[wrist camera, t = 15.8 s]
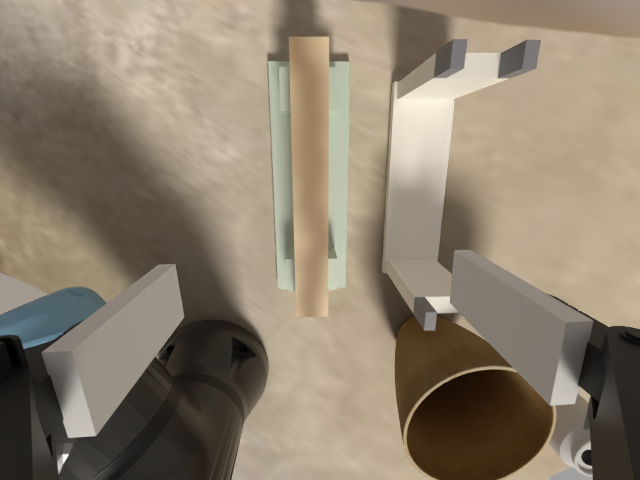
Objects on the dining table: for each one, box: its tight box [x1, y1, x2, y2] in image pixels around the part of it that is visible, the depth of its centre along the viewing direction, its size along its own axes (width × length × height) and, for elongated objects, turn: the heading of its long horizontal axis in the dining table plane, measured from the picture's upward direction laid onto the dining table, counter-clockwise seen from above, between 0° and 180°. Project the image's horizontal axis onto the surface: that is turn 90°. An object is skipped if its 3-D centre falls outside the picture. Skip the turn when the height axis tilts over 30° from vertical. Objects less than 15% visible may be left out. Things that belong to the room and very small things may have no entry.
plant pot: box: [395, 316, 556, 480], centre depth 38 cm, size 15×15×16 cm
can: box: [548, 393, 593, 476], centre depth 42 cm, size 8×8×12 cm
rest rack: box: [268, 61, 350, 291], centre depth 36 cm, size 9×27×5 cm, turn 0°
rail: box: [289, 37, 329, 317], centre depth 32 cm, size 4×27×4 cm, turn 0°
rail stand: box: [382, 39, 541, 331], centre depth 32 cm, size 7×23×15 cm, turn 0°
